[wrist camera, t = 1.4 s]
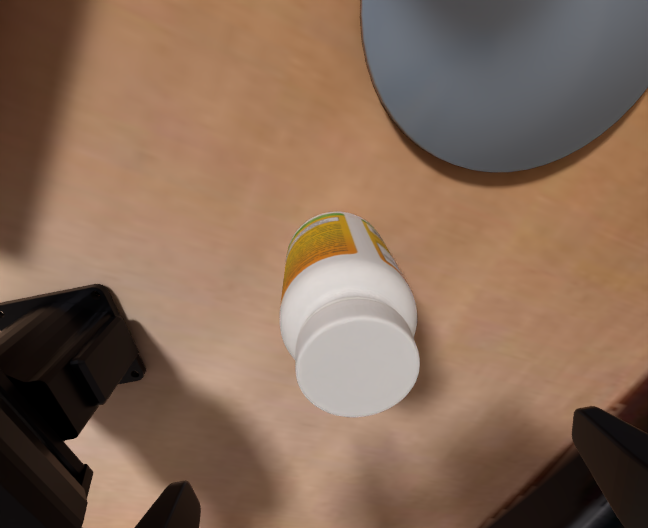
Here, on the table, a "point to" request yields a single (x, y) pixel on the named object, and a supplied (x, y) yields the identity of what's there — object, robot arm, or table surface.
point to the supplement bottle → (348, 317)
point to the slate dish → (505, 74)
